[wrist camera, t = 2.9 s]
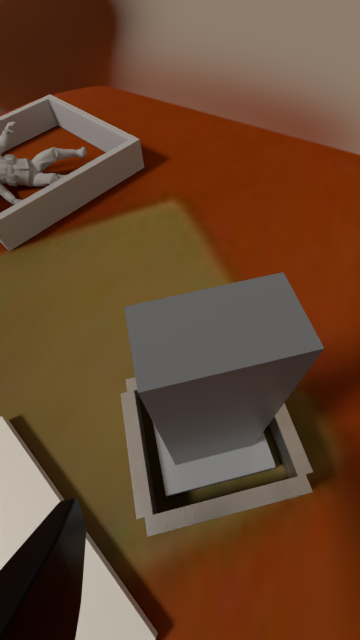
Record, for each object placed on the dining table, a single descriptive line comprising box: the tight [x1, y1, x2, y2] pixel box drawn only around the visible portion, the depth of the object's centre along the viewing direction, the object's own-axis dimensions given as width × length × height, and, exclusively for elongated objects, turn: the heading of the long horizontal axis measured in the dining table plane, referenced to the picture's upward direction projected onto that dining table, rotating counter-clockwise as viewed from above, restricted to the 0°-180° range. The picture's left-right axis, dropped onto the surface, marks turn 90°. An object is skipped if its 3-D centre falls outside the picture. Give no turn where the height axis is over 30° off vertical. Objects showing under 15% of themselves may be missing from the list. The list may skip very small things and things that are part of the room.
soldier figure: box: [0, 122, 86, 205], centre depth 32 cm, size 8×5×12 cm
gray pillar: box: [124, 272, 324, 497], centre depth 13 cm, size 5×6×13 cm
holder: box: [121, 377, 313, 537], centre depth 18 cm, size 8×9×2 cm
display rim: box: [0, 95, 144, 251], centre depth 33 cm, size 17×17×3 cm
